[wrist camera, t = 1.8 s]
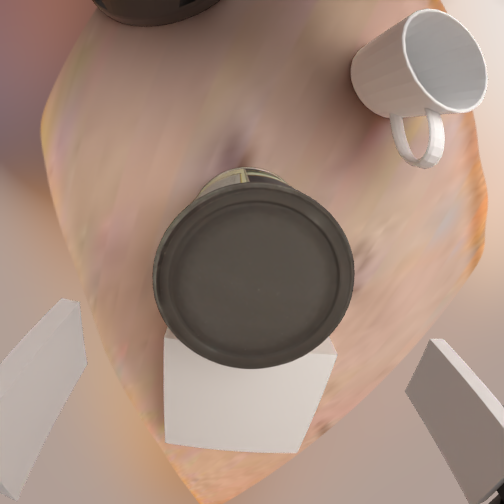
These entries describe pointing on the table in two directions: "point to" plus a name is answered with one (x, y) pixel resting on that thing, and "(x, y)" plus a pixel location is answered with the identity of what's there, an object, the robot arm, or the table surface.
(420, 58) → the mug
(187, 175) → the table surface
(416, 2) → the table surface
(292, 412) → the base
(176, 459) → the table surface
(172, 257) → the coffee can
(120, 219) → the table surface
